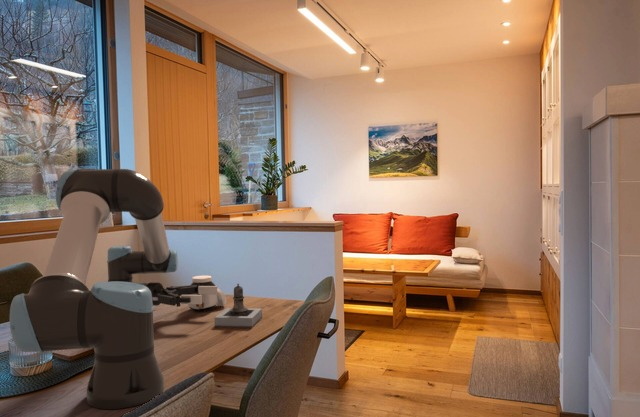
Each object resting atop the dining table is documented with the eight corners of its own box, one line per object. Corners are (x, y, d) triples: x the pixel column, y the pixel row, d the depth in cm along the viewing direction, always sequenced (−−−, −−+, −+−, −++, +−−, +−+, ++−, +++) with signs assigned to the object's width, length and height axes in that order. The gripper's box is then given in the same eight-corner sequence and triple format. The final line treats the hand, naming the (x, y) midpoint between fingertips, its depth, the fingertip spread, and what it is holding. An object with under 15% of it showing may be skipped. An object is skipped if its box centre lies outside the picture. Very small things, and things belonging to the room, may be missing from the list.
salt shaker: (244, 323, 155) (243, 285, 154) (226, 322, 156) (225, 285, 155) (250, 318, 160) (250, 281, 160) (233, 317, 162) (232, 281, 161)
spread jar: (184, 311, 174) (183, 278, 174) (202, 303, 185) (201, 272, 184) (214, 313, 170) (213, 279, 170) (230, 305, 181) (229, 274, 180)
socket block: (252, 327, 152) (251, 318, 151) (214, 326, 153) (214, 317, 153) (262, 317, 163) (262, 308, 163) (227, 316, 165) (227, 307, 165)
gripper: (165, 296, 175) (223, 297, 172) (128, 315, 150) (194, 316, 147) (165, 275, 175) (222, 276, 171) (127, 290, 150) (193, 291, 147)
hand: (209, 294), depth 159 cm, fingers open, 13 cm apart
